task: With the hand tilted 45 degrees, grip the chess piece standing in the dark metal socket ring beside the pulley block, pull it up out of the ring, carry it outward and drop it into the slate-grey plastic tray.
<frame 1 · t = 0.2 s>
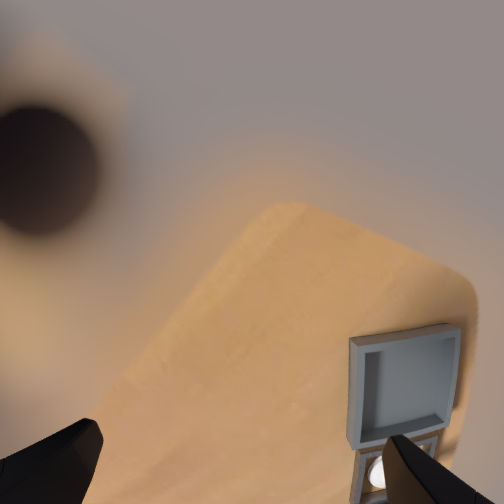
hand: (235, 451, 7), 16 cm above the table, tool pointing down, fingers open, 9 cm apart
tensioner: (390, 467, 22), on the table
chess piece: (390, 466, 22), resting in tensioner
tray: (399, 382, 22), on the table
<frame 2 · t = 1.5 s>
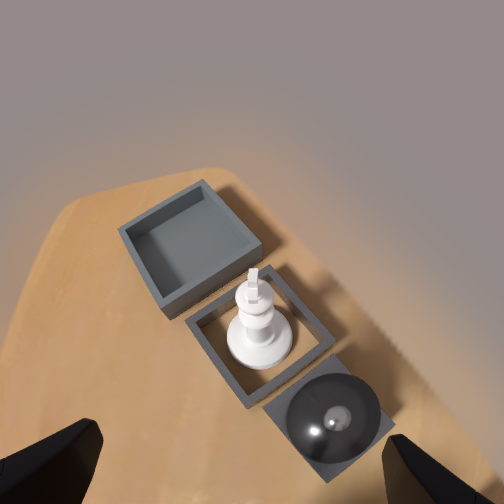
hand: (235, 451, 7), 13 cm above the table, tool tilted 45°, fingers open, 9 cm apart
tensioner: (259, 337, 23), on the table
chess piece: (259, 338, 23), resting in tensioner
tray: (189, 251, 27), on the table
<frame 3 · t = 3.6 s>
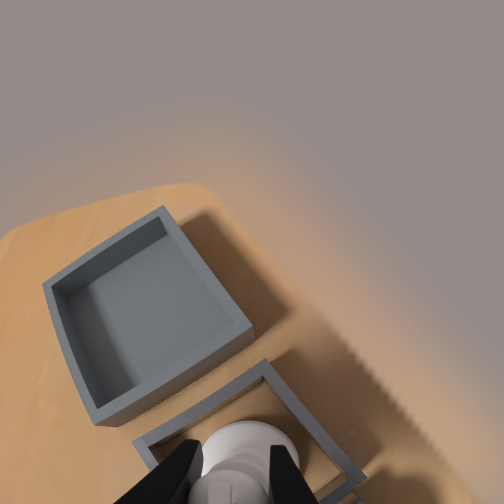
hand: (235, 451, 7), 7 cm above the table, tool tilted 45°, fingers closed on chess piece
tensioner: (248, 465, 12), on the table
chess piece: (248, 465, 12), resting in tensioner, touching gripper
tray: (143, 320, 17), on the table
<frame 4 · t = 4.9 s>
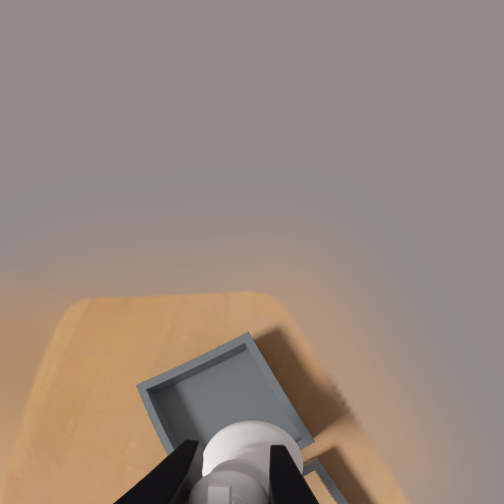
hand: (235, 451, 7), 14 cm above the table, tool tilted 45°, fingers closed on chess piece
chess piece: (252, 465, 12), point 7 cm above the table, touching gripper
tray: (225, 418, 20), on the table
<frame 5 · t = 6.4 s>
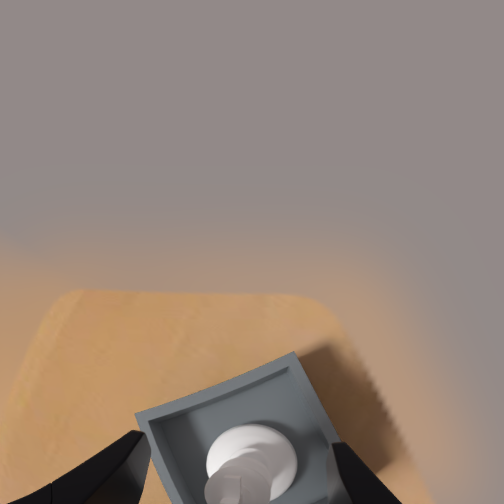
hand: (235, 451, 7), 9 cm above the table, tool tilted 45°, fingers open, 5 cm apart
chess piece: (252, 464, 14), resting on tray
tray: (251, 459, 14), on the table
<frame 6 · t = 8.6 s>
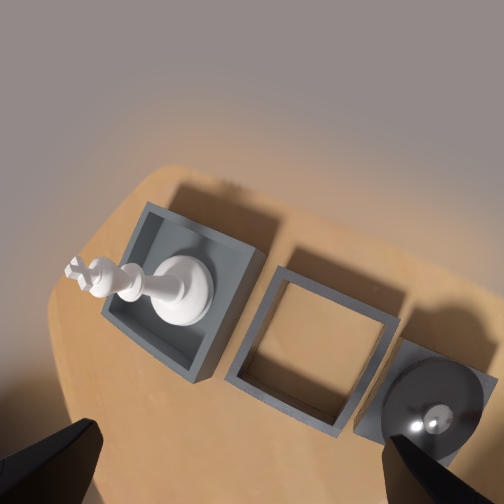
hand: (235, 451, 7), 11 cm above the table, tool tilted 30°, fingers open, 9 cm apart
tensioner: (313, 351, 18), on the table
chess piece: (184, 290, 21), resting on tray
tray: (185, 289, 22), on the table
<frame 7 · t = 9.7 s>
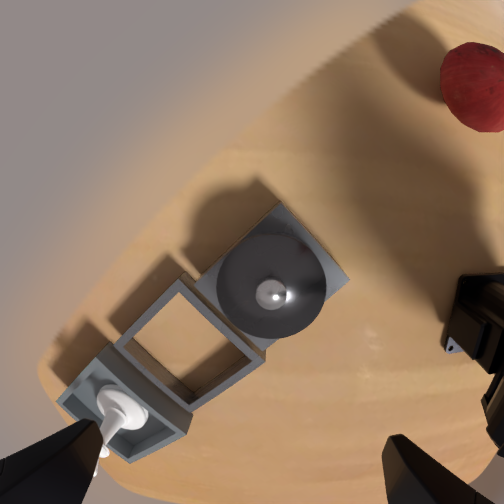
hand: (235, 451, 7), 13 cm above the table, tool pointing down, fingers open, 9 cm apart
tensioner: (189, 344, 21), on the table
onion: (452, 98, 16), on the table
chess piece: (123, 404, 23), resting on tray
tray: (124, 402, 23), on the table
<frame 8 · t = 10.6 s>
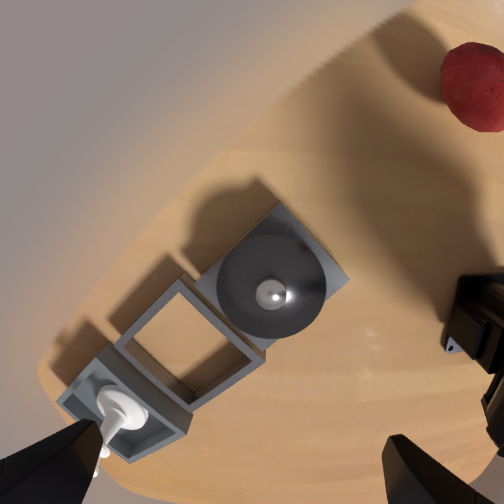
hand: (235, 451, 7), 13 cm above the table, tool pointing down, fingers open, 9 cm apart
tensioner: (189, 344, 21), on the table
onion: (452, 98, 16), on the table
chess piece: (123, 404, 23), resting on tray
tray: (124, 402, 23), on the table
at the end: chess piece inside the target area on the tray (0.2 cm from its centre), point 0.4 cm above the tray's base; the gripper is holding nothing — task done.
